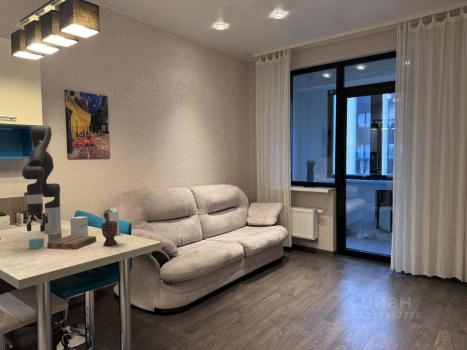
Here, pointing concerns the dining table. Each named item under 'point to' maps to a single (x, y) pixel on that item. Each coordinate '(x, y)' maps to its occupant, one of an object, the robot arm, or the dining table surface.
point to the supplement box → (79, 226)
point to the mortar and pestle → (109, 230)
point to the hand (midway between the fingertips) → (35, 231)
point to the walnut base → (71, 242)
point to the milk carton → (113, 215)
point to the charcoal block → (54, 236)
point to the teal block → (36, 243)
